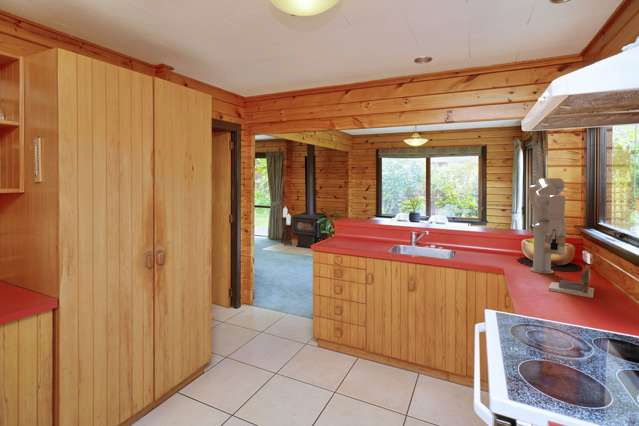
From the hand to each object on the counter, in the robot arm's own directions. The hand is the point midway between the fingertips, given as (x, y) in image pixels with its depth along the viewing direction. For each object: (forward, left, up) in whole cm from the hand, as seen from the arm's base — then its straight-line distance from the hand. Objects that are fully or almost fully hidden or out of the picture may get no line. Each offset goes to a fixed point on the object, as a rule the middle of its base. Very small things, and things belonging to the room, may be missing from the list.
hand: (554, 249), depth 185 cm
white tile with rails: (+12, +9, -19) cm, 24 cm away
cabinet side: (+12, +14, -18) cm, 26 cm away
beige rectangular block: (0, 0, -3) cm, 3 cm away
